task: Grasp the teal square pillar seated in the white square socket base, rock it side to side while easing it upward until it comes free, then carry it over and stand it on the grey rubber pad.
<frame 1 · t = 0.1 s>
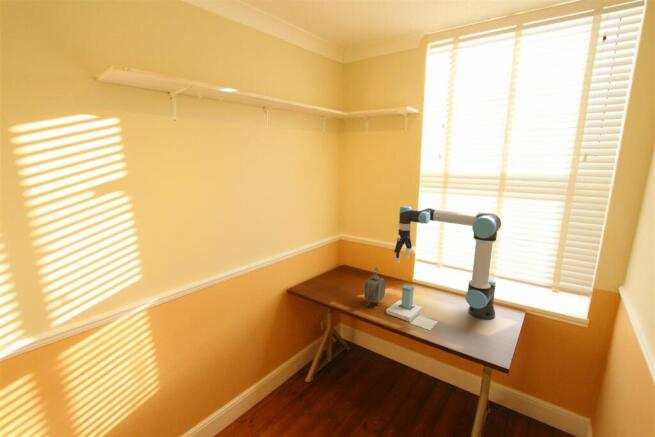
hand: (402, 259, 214), 28 cm above the table, fingers open, 13 cm apart
pad: (424, 323, 186), on the table
teal square pillar: (406, 310, 202), resting in white square socket base
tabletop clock: (374, 304, 210), on the table
white square socket base: (404, 312, 200), on the table
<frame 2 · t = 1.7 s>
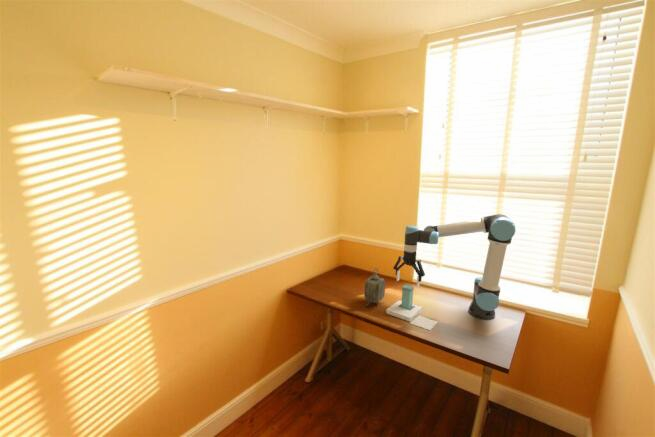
hand: (407, 283, 198), 18 cm above the table, fingers open, 13 cm apart
nothing on the table moved.
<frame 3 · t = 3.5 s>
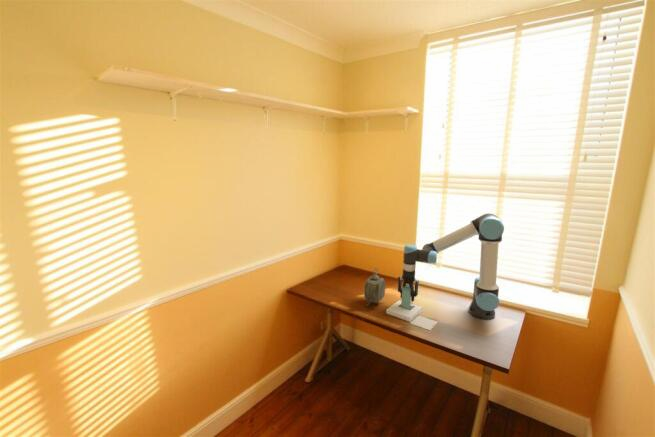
hand: (406, 304, 201), 4 cm above the table, fingers closed on teal square pillar, 5 cm apart
teal square pillar: (406, 310, 202), resting in white square socket base, touching gripper
everything else where it was.
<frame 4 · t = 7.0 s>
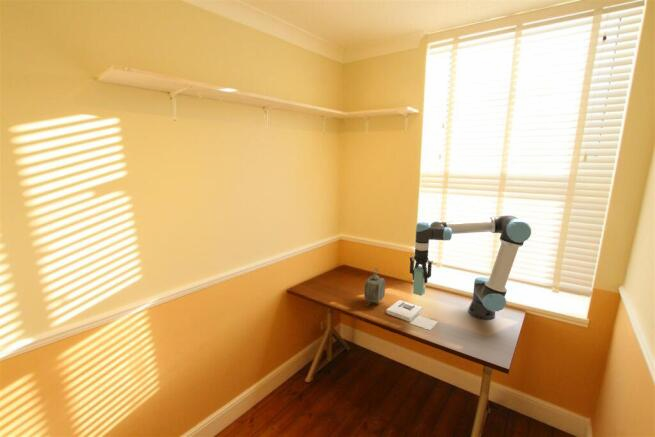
hand: (419, 286, 189), 20 cm above the table, fingers closed on teal square pillar, 5 cm apart
teal square pillar: (418, 293, 189), point 16 cm above the table, touching gripper
everything else where it was.
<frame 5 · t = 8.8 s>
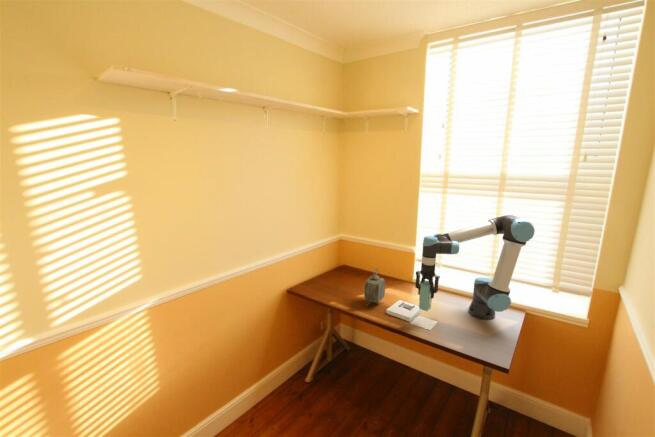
hand: (425, 301, 184), 14 cm above the table, fingers closed on teal square pillar, 5 cm apart
teal square pillar: (424, 308, 185), point 9 cm above the table, touching gripper
everything else where it was.
when the fingers open (6 cm above the table, at t = 10.4 s): teal square pillar drops 1 cm, resting on pad.
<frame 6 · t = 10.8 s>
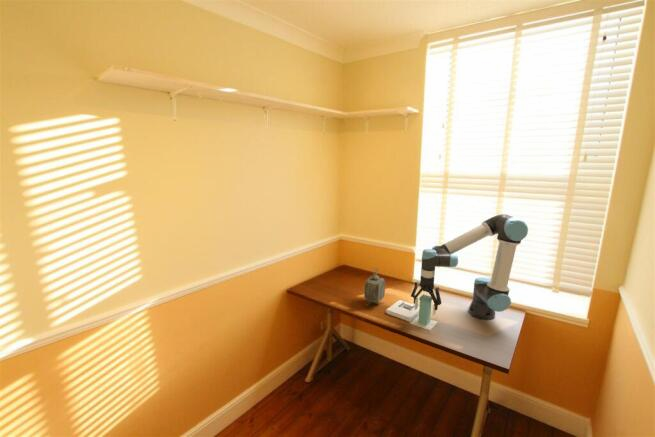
hand: (424, 311, 185), 7 cm above the table, fingers open, 10 cm apart
teal square pillar: (424, 322, 186), resting on pad
everything else where it was.
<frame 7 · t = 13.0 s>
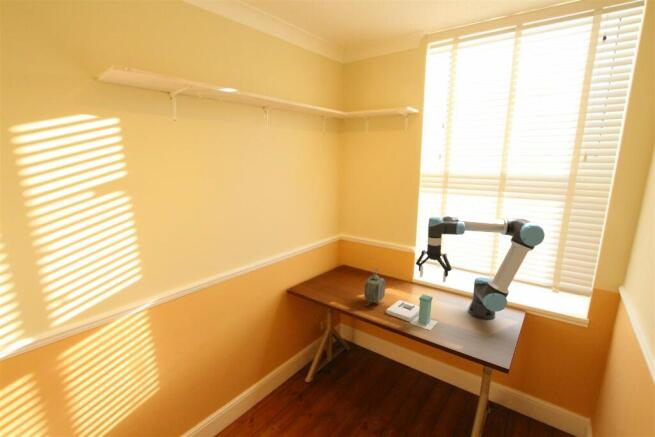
hand: (432, 279, 186), 26 cm above the table, fingers open, 13 cm apart
nothing on the table moved.
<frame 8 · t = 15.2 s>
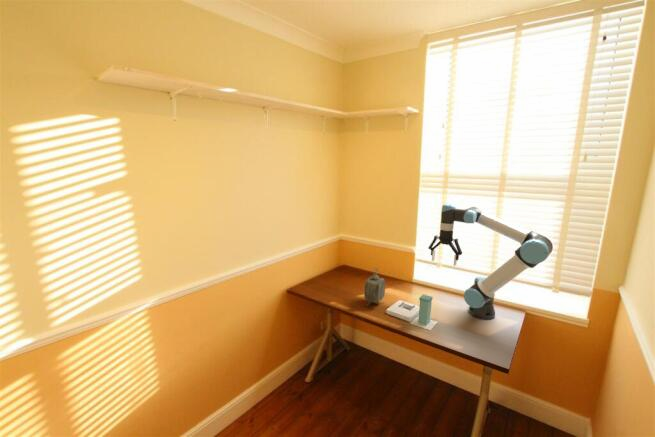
hand: (443, 262, 197), 32 cm above the table, fingers open, 13 cm apart
nothing on the table moved.
at the end: teal square pillar inside the target area on the pad (0.0 cm from its centre), point 0.4 cm above the pad's base; teal square pillar touching pad; the gripper is holding nothing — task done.
